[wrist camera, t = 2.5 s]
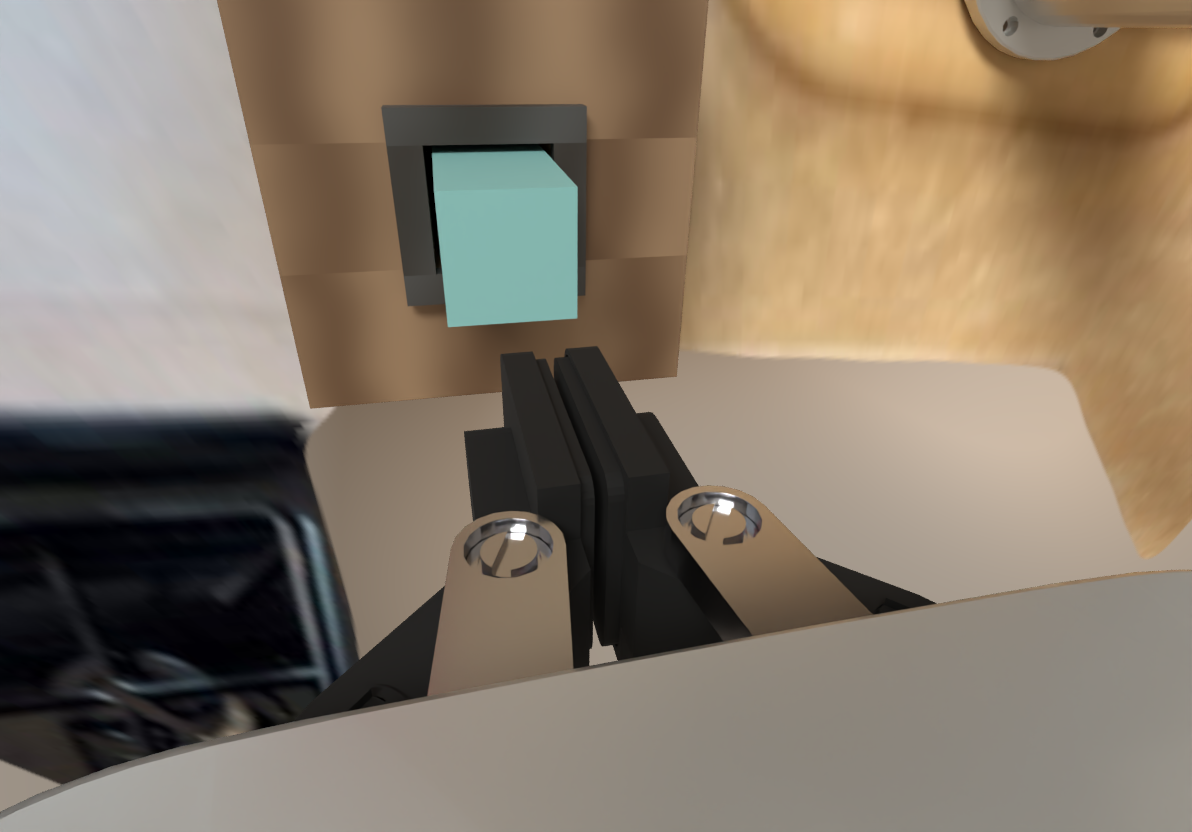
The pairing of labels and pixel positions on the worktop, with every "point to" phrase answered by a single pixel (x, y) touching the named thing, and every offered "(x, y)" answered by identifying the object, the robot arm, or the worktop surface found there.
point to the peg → (505, 234)
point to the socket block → (466, 117)
